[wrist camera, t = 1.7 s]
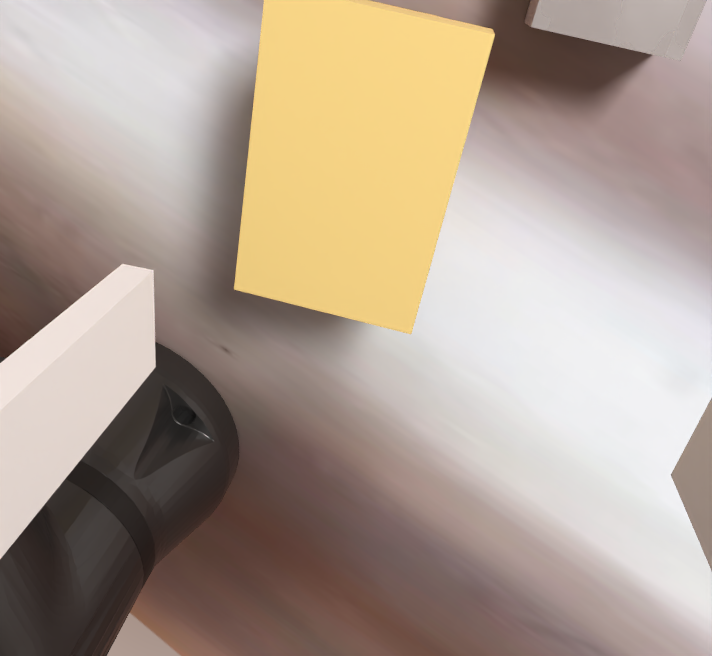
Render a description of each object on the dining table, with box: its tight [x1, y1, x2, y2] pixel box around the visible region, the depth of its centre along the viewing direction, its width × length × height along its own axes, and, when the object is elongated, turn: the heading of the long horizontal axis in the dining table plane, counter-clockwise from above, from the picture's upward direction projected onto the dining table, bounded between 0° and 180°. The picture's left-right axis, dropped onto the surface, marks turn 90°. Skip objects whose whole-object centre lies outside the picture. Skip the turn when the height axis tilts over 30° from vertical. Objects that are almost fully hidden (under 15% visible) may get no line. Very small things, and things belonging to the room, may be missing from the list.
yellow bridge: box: [234, 0, 495, 334], centre depth 26 cm, size 8×11×8 cm, turn 169°
